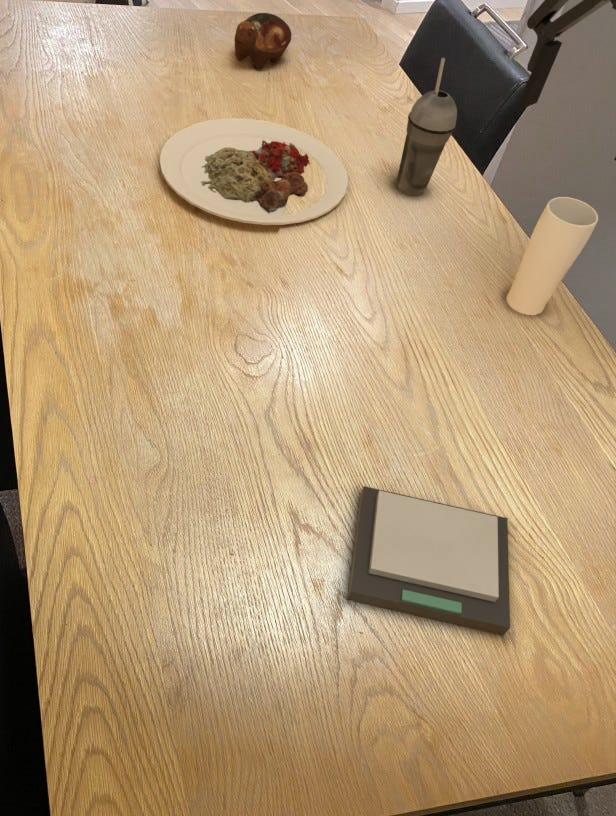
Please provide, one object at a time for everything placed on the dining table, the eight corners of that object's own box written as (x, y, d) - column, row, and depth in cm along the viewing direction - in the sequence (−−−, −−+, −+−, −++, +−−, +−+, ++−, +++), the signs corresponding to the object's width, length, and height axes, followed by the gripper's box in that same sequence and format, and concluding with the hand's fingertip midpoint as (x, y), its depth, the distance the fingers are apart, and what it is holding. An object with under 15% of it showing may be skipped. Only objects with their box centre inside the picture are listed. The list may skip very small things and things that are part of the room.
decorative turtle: (215, 64, 143) (220, 15, 137) (260, 47, 151) (266, -1, 145) (257, 80, 140) (264, 30, 133) (301, 62, 148) (309, 14, 142)
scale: (498, 531, 85) (511, 512, 82) (500, 639, 77) (514, 623, 74) (358, 499, 86) (366, 480, 83) (345, 604, 78) (353, 586, 75)
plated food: (130, 200, 115) (130, 179, 112) (196, 112, 132) (197, 92, 129) (320, 255, 111) (325, 234, 109) (362, 158, 128) (368, 138, 126)
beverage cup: (430, 209, 121) (478, 76, 105) (385, 201, 121) (426, 66, 105) (430, 185, 125) (476, 53, 109) (386, 177, 126) (426, 44, 109)
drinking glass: (513, 325, 106) (564, 228, 94) (490, 294, 110) (536, 197, 98) (554, 320, 108) (609, 224, 96) (530, 290, 111) (581, 194, 99)
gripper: (552, -141, 74) (471, 90, 91) (790, -48, 63) (648, 192, 81) (596, -148, 77) (509, 76, 94) (830, -60, 67) (685, 173, 84)
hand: (573, 130), depth 87 cm, fingers open, 13 cm apart
